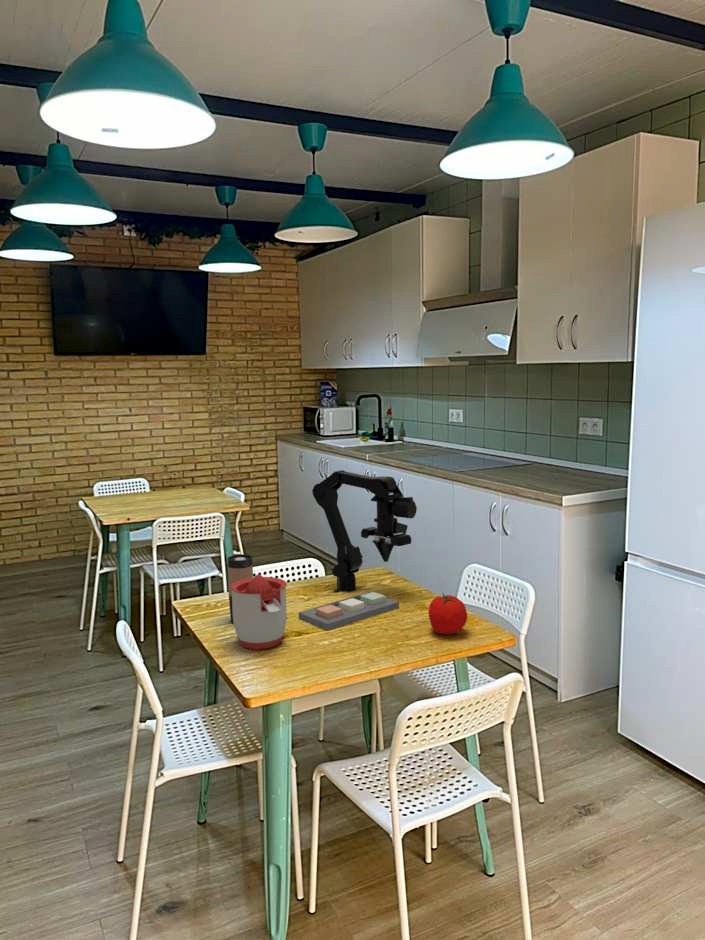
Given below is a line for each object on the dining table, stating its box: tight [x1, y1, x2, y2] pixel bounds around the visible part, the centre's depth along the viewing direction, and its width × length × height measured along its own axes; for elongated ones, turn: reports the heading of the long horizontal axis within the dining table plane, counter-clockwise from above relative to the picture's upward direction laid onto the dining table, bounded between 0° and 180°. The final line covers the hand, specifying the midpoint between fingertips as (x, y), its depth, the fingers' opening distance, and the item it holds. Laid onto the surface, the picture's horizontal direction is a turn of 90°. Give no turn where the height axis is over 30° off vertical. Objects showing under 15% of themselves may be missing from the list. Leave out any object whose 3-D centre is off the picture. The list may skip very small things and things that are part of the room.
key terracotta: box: [316, 605, 342, 620], centre depth 213 cm, size 6×6×2 cm
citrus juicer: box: [231, 573, 288, 651], centre depth 198 cm, size 16×17×20 cm
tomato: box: [428, 592, 468, 635], centre depth 204 cm, size 12×12×11 cm
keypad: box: [298, 591, 400, 632], centre depth 220 cm, size 14×29×3 cm, turn 131°
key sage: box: [361, 591, 387, 606], centre depth 225 cm, size 6×6×2 cm
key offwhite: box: [339, 598, 364, 613], centre depth 219 cm, size 6×6×2 cm
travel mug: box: [227, 553, 254, 625], centre depth 217 cm, size 8×8×20 cm
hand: (385, 561), depth 234 cm, fingers closed
